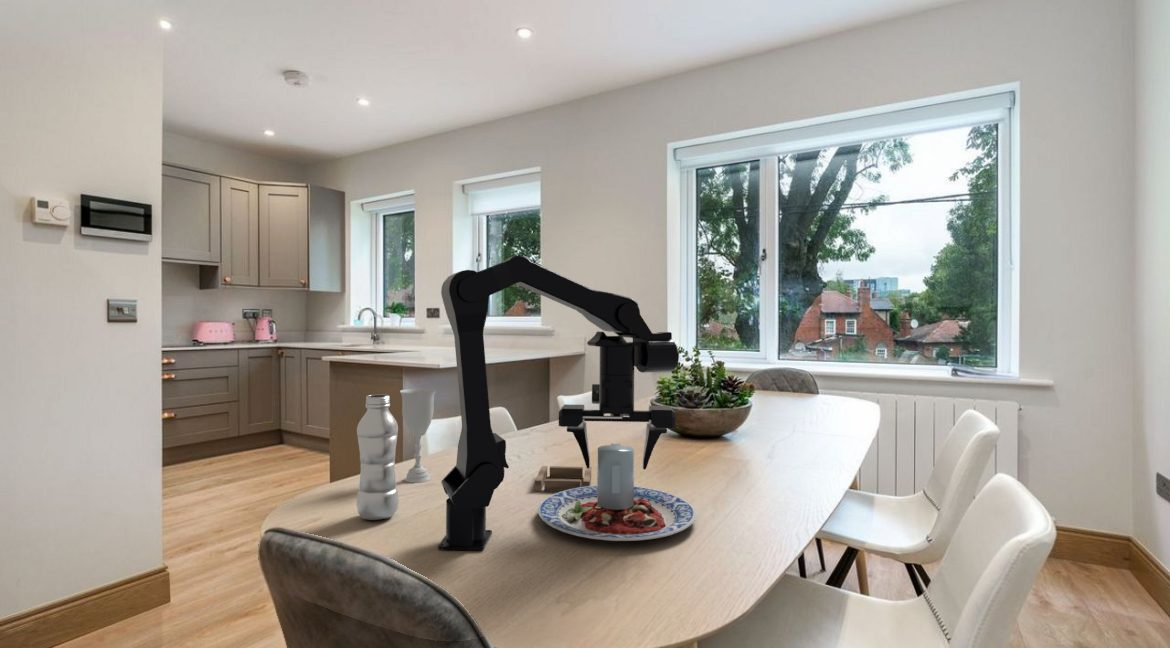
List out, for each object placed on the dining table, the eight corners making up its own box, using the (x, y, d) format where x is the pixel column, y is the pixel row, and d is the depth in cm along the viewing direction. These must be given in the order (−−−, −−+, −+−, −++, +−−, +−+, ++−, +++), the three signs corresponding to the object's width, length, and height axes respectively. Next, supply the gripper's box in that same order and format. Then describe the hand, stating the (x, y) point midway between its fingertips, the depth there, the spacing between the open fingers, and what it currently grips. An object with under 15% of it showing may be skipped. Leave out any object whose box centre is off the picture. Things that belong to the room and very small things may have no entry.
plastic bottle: (371, 528, 87) (372, 400, 87) (348, 518, 91) (348, 396, 91) (407, 516, 92) (407, 395, 92) (383, 508, 97) (383, 392, 96)
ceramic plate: (701, 504, 101) (701, 487, 101) (688, 563, 76) (688, 542, 76) (565, 491, 108) (565, 475, 108) (513, 542, 83) (513, 522, 83)
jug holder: (589, 492, 106) (589, 481, 106) (534, 490, 107) (534, 480, 107) (591, 476, 117) (591, 467, 117) (541, 475, 117) (541, 466, 117)
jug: (632, 496, 96) (633, 444, 96) (635, 516, 86) (635, 457, 86) (597, 495, 96) (598, 443, 96) (596, 515, 87) (596, 457, 87)
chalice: (392, 482, 112) (392, 392, 112) (412, 473, 118) (412, 388, 118) (424, 485, 110) (424, 393, 109) (442, 476, 116) (443, 389, 116)
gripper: (668, 369, 100) (668, 457, 100) (564, 368, 100) (563, 455, 101) (676, 376, 88) (675, 474, 89) (558, 374, 89) (557, 472, 89)
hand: (616, 468), depth 92 cm, fingers open, 9 cm apart
